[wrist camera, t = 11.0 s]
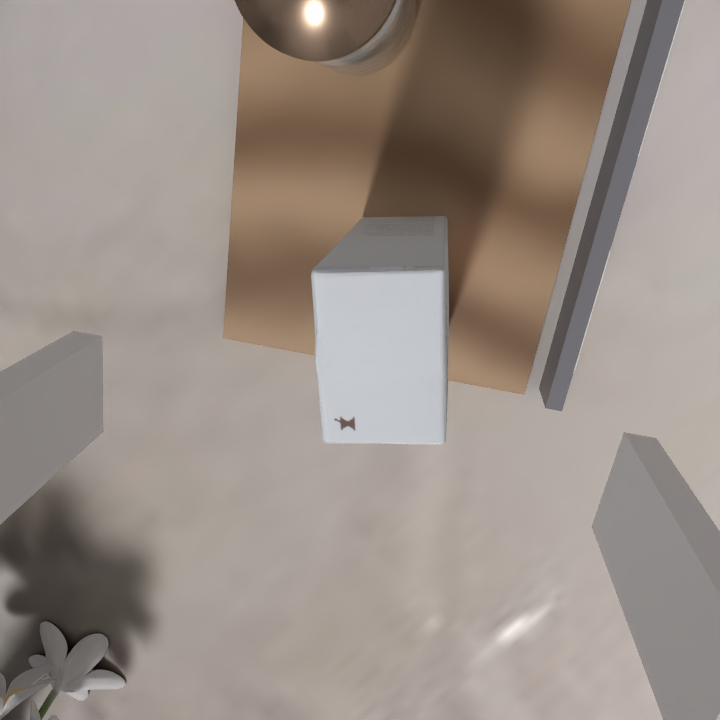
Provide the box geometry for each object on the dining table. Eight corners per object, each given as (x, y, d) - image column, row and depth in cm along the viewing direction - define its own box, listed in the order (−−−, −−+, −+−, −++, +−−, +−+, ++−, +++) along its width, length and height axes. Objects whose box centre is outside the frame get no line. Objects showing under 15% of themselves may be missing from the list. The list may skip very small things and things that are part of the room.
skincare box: (449, 333, 31) (447, 452, 20) (365, 334, 32) (317, 448, 21) (450, 210, 29) (448, 266, 18) (359, 213, 30) (304, 268, 18)
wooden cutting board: (522, 385, 33) (524, 394, 32) (230, 331, 34) (223, 338, 33) (640, -57, 25) (648, -65, 24) (260, -106, 26) (251, -116, 25)
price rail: (557, 391, 33) (564, 411, 30) (539, 388, 33) (545, 407, 31) (686, -51, 25) (708, -67, 23) (662, -54, 25) (682, -71, 23)
